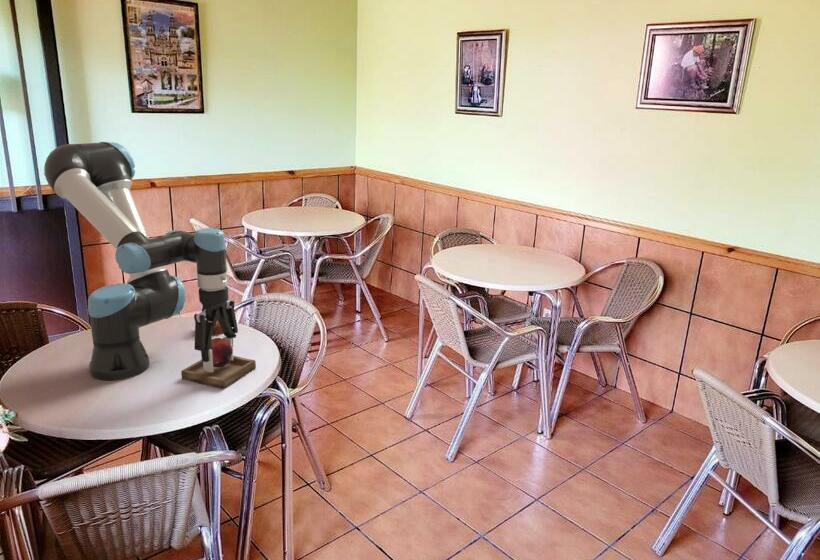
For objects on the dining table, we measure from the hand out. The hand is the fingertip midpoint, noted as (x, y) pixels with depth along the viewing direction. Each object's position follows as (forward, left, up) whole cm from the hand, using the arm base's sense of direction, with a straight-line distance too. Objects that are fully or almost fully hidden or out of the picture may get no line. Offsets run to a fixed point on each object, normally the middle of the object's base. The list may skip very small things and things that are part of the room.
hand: (218, 365), depth 166 cm
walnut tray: (0, 0, -3) cm, 3 cm away
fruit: (0, 0, 0) cm, 0 cm away
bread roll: (-23, +24, -3) cm, 33 cm away
